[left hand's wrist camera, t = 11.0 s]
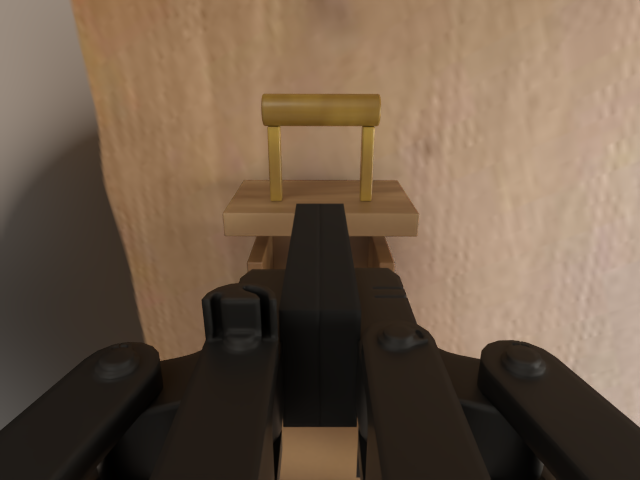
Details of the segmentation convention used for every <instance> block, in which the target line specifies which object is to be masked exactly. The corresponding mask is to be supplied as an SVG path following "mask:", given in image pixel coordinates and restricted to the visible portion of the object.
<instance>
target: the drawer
mask: <svg viewBox="0 0 640 480" xmlns="http://www.w3.org/2000/svg"><path fill="white" fill-rule="evenodd" d="M261 111H262V121H263V125H264V126H268V128H267V129H268V154H269V178H270V180H244V181H243V183H242V185H241V186H240V188H239V189H238V191H237V192H236V194H235V195H234V197H233V199H232V200H231V202H230V203H229V205H228V206H227V208H226V210H225V211H224V213H223V222H224V234H225V236H257V237H256V240H255V243H254V246H253V248H252V251H251V254H250V257H249V259H248V262H247V270H248V272H249V271H250V270H251V269H286V263H287V257H288V251H289V245H290V239H291V233H292V227H293V221H294V215H295V209H296V204H344V209H345V215H346V221H347V227H348V233H349V239H350V245H351V251H352V257H353V263H354V268H389V269H390V270H392V271H393V272H394V265H395V263H394V261H393V258H392V255H391V252H390V250H389V247H388V244H387V242H386V239H385V236H417V233H418V222H419V213H418V211H417V210H416V208H415V207H414V205H413V204H412V202H411V201H410V199H409V198H408V196H407V195H406V193H405V191H404V190H403V188H402V187H401V185H400V184H399V182H398V181H395V180H372V177H373V155H374V133H375V128H374V126H378V125H379V123H380V116H381V98H380V95H379V94H263V95H262V102H261ZM280 126H362V136H361V164H360V180H282V164H281V131H280Z"/></svg>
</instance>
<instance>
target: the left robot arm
mask: <svg viewBox="0 0 640 480" xmlns="http://www.w3.org/2000/svg"><path fill="white" fill-rule="evenodd" d="M202 308H203V317H204V326H205V335H206V341H205V343H204V346H203V348H202V350H201V351H198V352H196V353H194V354H190V355H187V356H183V357H179V358H174V359H169V360H164V361H160V358H159V352H158V351H157V350H156V349H155V348H154V347H153V346H150V345H147V344H144V343H135V342H127V343H121V344H115V345H111V346H109V347H106V348H104V349H101V350H99V351H97V352H95V353H93V354H92V355H91V356H89V357H87V358H86V359H84V360H83V361H82V362H81V363H80V364H79V365H77V366H76V367H75V368H74V369H73V370H71V371H70V372H69V373H68V374H67V375H65V376H64V377H63V378H62V379H61V380H60V381H58V382H57V383H56V384H55V385H54V386H52V387H51V388H50V389H49V390H48V391H47V392H45V393H44V394H43V395H42V396H41V397H40V398H38V399H37V400H36V401H35V402H34V403H32V404H31V405H30V406H29V407H28V408H26V409H25V410H24V411H23V412H22V413H21V414H19V415H18V416H17V417H16V418H15V419H13V420H12V421H11V422H10V423H9V424H8V425H6V426H5V427H4V428H3V429H2V430H0V480H280V470H281V460H282V449H283V448H282V421H283V427H357V419H358V448H357V472H356V478H360V480H640V427H639V426H637V425H636V424H635V423H634V422H633V421H631V420H630V419H629V418H628V417H627V416H625V415H624V414H623V413H622V412H621V411H619V410H618V409H617V408H616V407H615V406H613V405H612V404H611V403H610V402H609V401H608V400H606V399H605V398H604V397H603V396H602V395H600V394H599V393H598V392H597V391H596V390H594V389H593V388H592V387H591V386H590V385H588V384H587V383H586V382H585V381H584V380H583V379H581V378H580V377H579V376H578V375H577V374H575V373H574V372H573V371H572V370H571V369H569V368H568V367H567V366H566V365H565V364H563V363H562V362H561V361H560V360H559V359H558V358H556V357H555V356H553V355H552V354H550V353H549V352H547V351H546V350H544V349H542V348H539V347H537V346H534V345H532V344H530V343H526V342H522V341H521V342H519V341H514V340H503V341H496V342H493V343H490V344H488V345H487V346H486V347H485V348H484V349H483V350H482V352H481V358H480V359H476V358H471V357H466V356H461V355H457V354H453V353H449V352H446V351H444V350H442V349H439V348H438V347H437V345H436V343H435V340H434V338H433V337H432V336H431V334H430V333H429V332H428V331H427V330H425V329H424V328H422V327H421V326H419V325H417V323H416V320H415V317H414V315H413V312H412V309H411V307H410V304H409V301H408V298H407V296H406V293H405V290H404V289H403V285H402V282H401V279H400V277H399V276H398V275H397V274H395V273H394V272H393V271H392V270H390V269H389V268H354V263H353V257H352V251H351V245H350V239H349V233H348V227H347V221H346V215H345V209H344V204H296V209H295V215H294V221H293V227H292V233H291V239H290V245H289V251H288V257H287V263H286V269H251V270H250V271H249V272H248V273H246V274H245V275H244V276H243V277H241V278H240V281H239V283H236V284H229V285H225V286H222V287H218V288H216V289H214V290H212V291H211V292H209V293H207V294H206V296H205V297H204V298H203V299H202Z"/></svg>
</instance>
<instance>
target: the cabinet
mask: <svg viewBox="0 0 640 480" xmlns="http://www.w3.org/2000/svg"><path fill="white" fill-rule="evenodd" d="M282 448H283V449H282V460H281V470H280V480H360V478H356V472H357V448H358V419H357V427H283V421H282Z"/></svg>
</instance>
